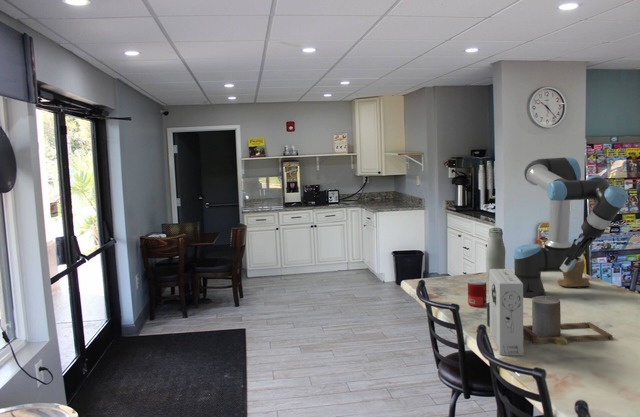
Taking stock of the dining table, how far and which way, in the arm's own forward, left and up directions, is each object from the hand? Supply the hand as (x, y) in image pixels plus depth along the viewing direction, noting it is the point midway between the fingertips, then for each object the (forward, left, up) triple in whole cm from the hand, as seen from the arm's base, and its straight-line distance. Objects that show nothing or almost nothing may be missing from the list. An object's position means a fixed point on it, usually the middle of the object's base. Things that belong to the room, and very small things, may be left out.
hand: (563, 270), depth 200 cm
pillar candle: (+21, +7, -21) cm, 30 cm away
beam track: (+16, +10, -20) cm, 28 cm away
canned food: (+11, -34, -21) cm, 41 cm away
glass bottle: (-33, -59, -21) cm, 71 cm away
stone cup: (-49, -24, -21) cm, 58 cm away
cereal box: (+39, +3, -21) cm, 44 cm away
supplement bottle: (+27, -11, -21) cm, 36 cm away
